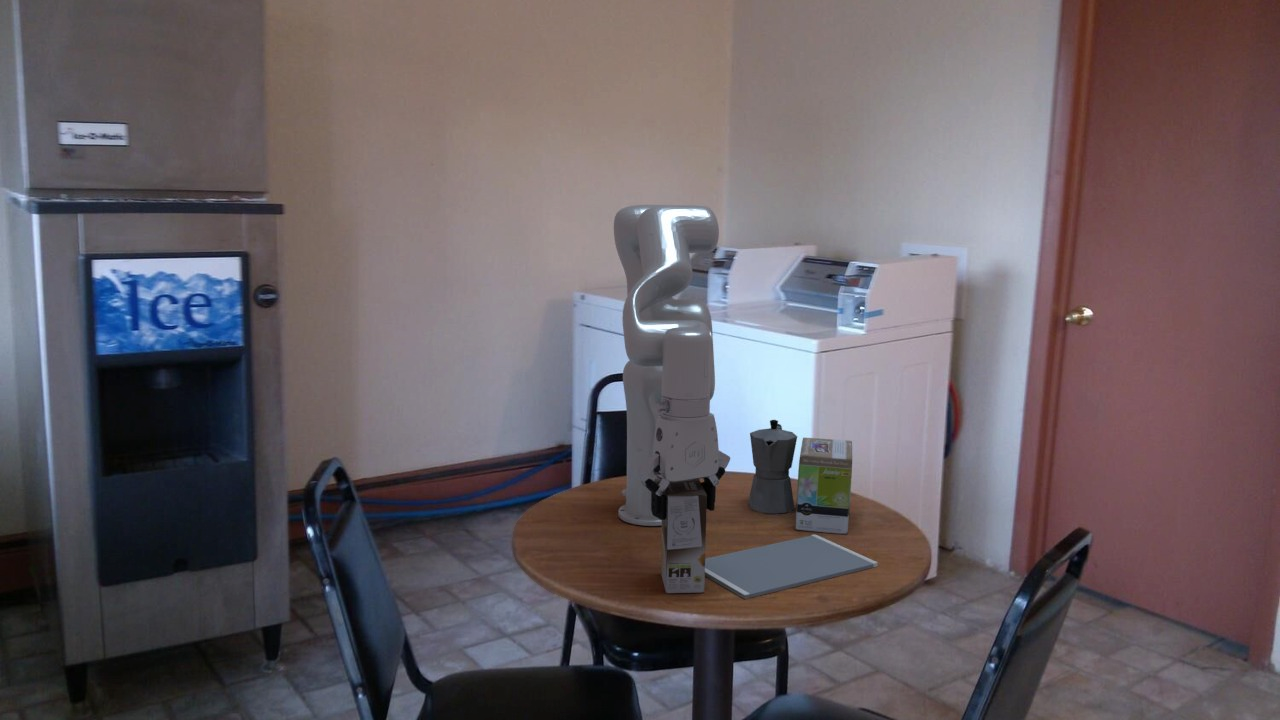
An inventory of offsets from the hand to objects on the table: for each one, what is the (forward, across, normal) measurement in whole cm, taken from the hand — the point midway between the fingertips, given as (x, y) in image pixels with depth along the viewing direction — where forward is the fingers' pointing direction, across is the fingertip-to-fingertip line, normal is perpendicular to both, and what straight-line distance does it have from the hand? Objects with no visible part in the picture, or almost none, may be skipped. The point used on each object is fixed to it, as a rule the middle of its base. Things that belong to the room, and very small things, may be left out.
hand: (683, 512), depth 157 cm
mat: (+12, +19, -2) cm, 22 cm away
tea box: (+12, +41, +13) cm, 45 cm away
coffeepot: (+12, +38, +25) cm, 47 cm away
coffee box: (+12, 0, 0) cm, 12 cm away
